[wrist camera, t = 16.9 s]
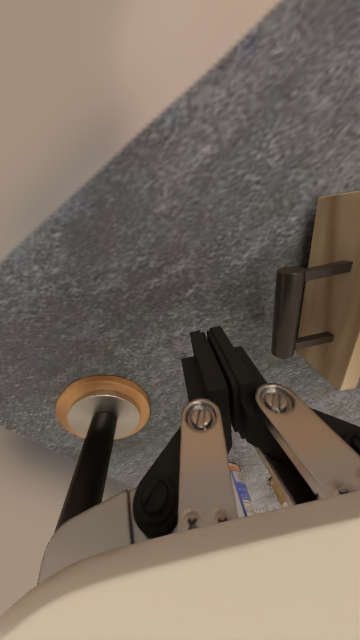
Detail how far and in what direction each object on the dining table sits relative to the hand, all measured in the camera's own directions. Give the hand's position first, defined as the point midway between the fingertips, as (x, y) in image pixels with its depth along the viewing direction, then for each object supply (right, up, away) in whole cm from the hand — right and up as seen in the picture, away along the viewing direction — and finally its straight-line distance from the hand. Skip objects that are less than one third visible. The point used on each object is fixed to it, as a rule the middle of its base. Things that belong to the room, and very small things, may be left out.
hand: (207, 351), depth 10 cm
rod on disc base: (-9, -8, +8) cm, 14 cm away
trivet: (-9, -7, +9) cm, 15 cm away
